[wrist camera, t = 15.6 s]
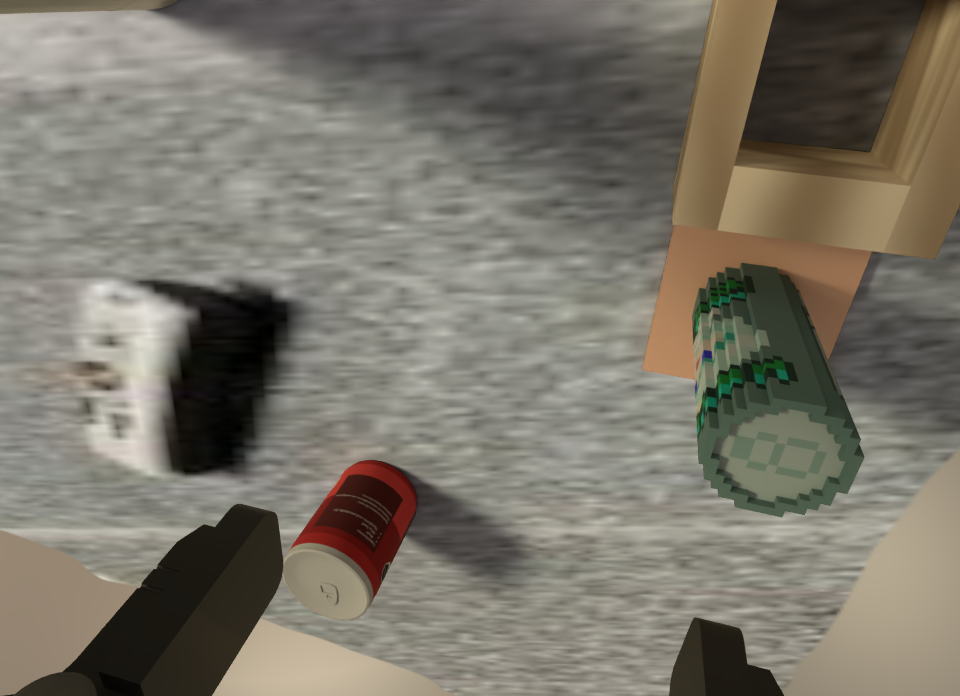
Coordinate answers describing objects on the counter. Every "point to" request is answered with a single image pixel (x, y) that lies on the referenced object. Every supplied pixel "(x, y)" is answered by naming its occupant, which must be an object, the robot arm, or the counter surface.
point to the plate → (704, 252)
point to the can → (768, 397)
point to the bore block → (824, 171)
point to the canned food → (351, 541)
